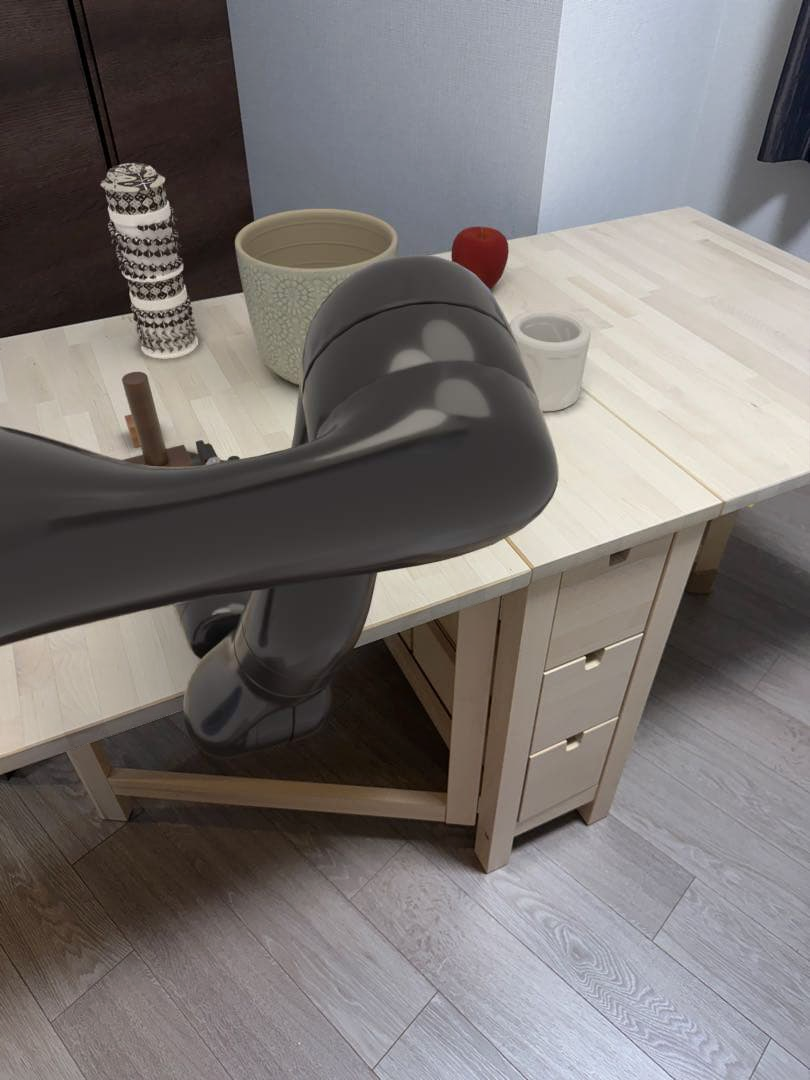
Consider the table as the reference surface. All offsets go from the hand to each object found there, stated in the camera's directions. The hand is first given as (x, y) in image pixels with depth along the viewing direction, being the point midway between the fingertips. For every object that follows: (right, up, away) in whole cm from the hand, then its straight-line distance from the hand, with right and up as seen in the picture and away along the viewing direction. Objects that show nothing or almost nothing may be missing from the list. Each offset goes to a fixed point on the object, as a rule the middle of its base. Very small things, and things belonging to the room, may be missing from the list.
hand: (158, 458), depth 76 cm
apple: (+38, +35, +53) cm, 74 cm away
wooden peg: (-4, -1, +12) cm, 13 cm away
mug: (+43, +12, +28) cm, 53 cm away
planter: (+14, +17, +33) cm, 39 cm away
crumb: (-8, +5, +19) cm, 22 cm away
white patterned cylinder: (-11, +21, +37) cm, 44 cm away
